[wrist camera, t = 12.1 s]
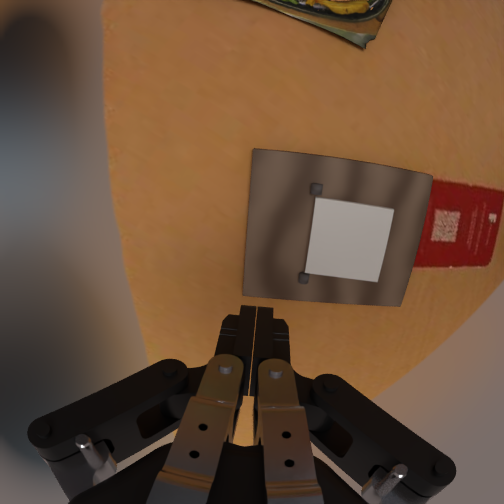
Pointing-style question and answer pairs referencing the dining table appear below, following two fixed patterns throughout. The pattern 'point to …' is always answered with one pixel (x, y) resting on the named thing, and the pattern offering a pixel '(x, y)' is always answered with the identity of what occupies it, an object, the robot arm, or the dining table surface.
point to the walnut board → (300, 222)
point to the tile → (348, 239)
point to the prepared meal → (338, 16)
